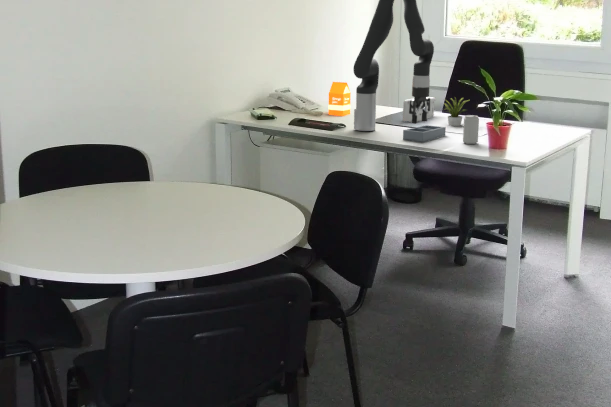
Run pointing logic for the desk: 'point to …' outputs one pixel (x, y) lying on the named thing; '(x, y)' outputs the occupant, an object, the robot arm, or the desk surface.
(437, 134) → the grey compartment tray
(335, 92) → the orange juice
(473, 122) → the beverage can
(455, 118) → the house plant
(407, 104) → the stereo radio cassette player
